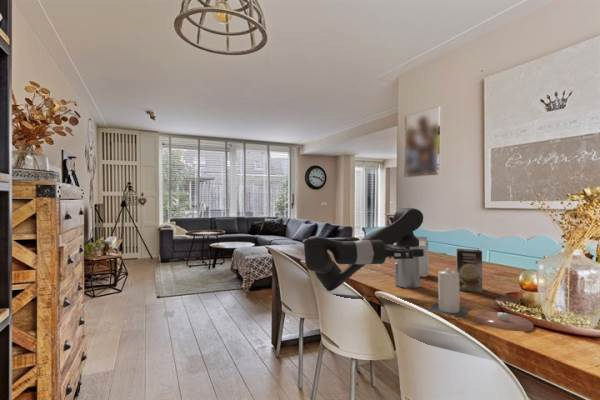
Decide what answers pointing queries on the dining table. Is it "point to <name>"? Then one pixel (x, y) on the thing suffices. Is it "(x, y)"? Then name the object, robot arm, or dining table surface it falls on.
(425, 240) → the milk carton
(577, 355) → the dining table surface
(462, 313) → the cover mat
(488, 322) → the tea light plate
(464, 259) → the coffee box
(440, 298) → the cover
